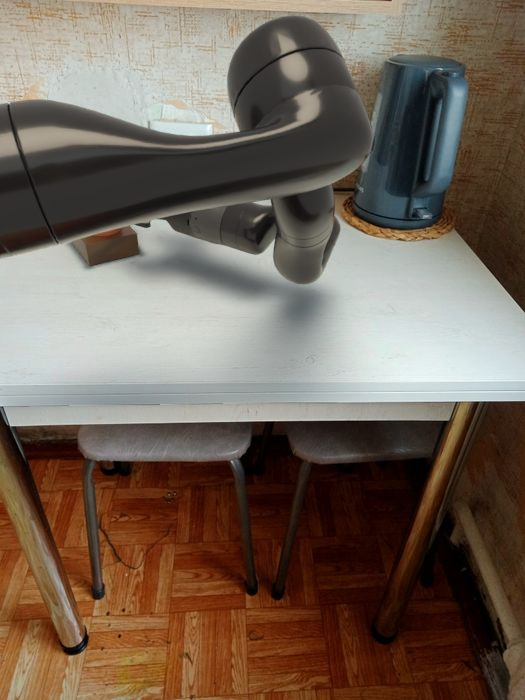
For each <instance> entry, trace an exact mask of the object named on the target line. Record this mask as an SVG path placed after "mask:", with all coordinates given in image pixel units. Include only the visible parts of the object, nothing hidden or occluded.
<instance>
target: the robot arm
mask: <svg viewBox="0 0 525 700" xmlns="http://www.w3.org/2000/svg"><path fill="white" fill-rule="evenodd" d="M226 92H227V99H228V103H229V107H230V111H231V113H232V116H233V118H234V121H235V123H236V125H237V129H238V131H234V132H225V133H216V134H215V133H214V134H206V135H188V134H176V133H171V132H165V131H160V130H157V129H153V128H149V127H147V126H143V125H139V124H137V123H133V122H130V121H127V120H124V119H121V118H118V117H115V116H113V115H109V114H106V113H103V112H100V111H97V110H94V109H90V108H86V107H84V106H79V105H76V104H71V103H67V102H63V101H58V100H52V99H42V98H39V99H35V98H34V99H23V100H16V101H11V102H9V103H8V102H4V103H0V260H1V259H6V258H11V257H16V256H19V255H24V254H27V253H33V252H37V251H39V250H44V249H48V248H52V247H56V246H59V245H64V244H67V243H72V241H74V240H78V239H81V238H85V237H88V236H91V235H95V234H98V233H102V232H106V231H110V230H114V229H118V228H122V227H126V226H130V227H131V226H137V227H140V228H143V229H150V228H151V222H152V221H153V220H159V221H166V222H167V223H168V224H169V226H170V227H171V229H172V230H173V231H174V232H176V233H179V234H183V235H185V236H188V237H192V238H194V239H198V240H201V241H203V242H207V243H210V244H214V245H219V246H224V247H228V248H230V249H234V250H237V251H240V252H244V253H246V254H249V255H255V256H258V255H261V254H263V253H264V252H265V251H267V249H269V247H270V246H271V244H272V243H273V242H274V243H273V250H272V251H273V252H272V261H273V264H274V267H275V268H276V270H277V272H278V273H279V274H280V276H282V278H283V279H285V280H286V281H288V282H290V283H293V284H296V285H304V286H305V285H310V284H314V283H315V282H317V281H318V280H319V279H320V278H321V277H322V275H323V273H324V272H325V269H326V267H327V264H328V262H329V260H330V259H331V256H332V253H333V251H334V248H335V246H336V245H337V244H336V243H337V242H338V239H339V237H340V233H341V224H340V221H339V220H338V217H336V215H335V212H336V202H335V199H336V198H335V193H334V187H333V184H334V183H337V182H340V180H342V179H345V178H346V177H348V176H349V175H351V174H352V173H353V172H355V171H356V170H357V169H359V168H360V167H361V166H362V165H363V164H364V163H365V162H366V160H367V158H368V157H369V156H370V154H371V151H372V148H373V145H374V133H373V132H374V131H373V127H372V123H371V120H370V117H369V114H368V110H367V108H366V106H365V104H364V101H363V99H362V97H361V96H360V93H359V91H358V87H356V84H355V81H354V80H353V77H352V75H351V73H350V70H349V68H348V66H347V64H346V60H345V59H344V56H343V54H342V52H341V50H340V48H339V46H338V44H337V42H336V41H335V40H334V38H333V37H332V36H331V34H330V33H329V32H328V30H327V29H326V28H325V27H324V26H323V25H322V24H321V23H319V22H317V21H316V20H314V19H313V18H311V17H308V16H305V15H295V14H289V15H283V16H279V17H276V18H273V19H270V20H268V21H265V22H264V23H262V24H260V25H258V26H257V27H255V28H254V29H253V30H252V31H251V32H249V33H248V34H247V35H246V36H245V37H244V38H243V39H242V40H241V42H240V43H239V45H238V46H237V47H236V49H235V50H234V52H233V55H232V57H231V59H230V62H229V64H228V69H227V73H226ZM269 200H270V204H271V205H269V204H268V205H267V204H260V203H257V202H262V201H269Z"/></svg>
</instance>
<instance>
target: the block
mask: <svg viewBox="0 0 525 700" xmlns="http://www.w3.org/2000/svg"><path fill="white" fill-rule="evenodd" d="M71 244H72V245H73V246H74V248H75V249H76V250H77V252H78V253H79V254H80V256H81V257H82V258H83V260H84V261H85V263H86V264H87V265H88V266H89V267H91V266H96V265H100V264H103V263H104V264H105V263H107V262H113V261H116V260H120V259H124V258H129V257H132V256H136V255H139V254H140V247H139V238H138V232H136V231H135V230H134V229H133V228H132V226H131V225H130V226H126V227H122V229H121V230H120V231H119V232H118V233H116V234H114V235H110V236H104V237H97V236H88V237H85V238H81V239H78V240H74V241H71Z"/></svg>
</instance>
